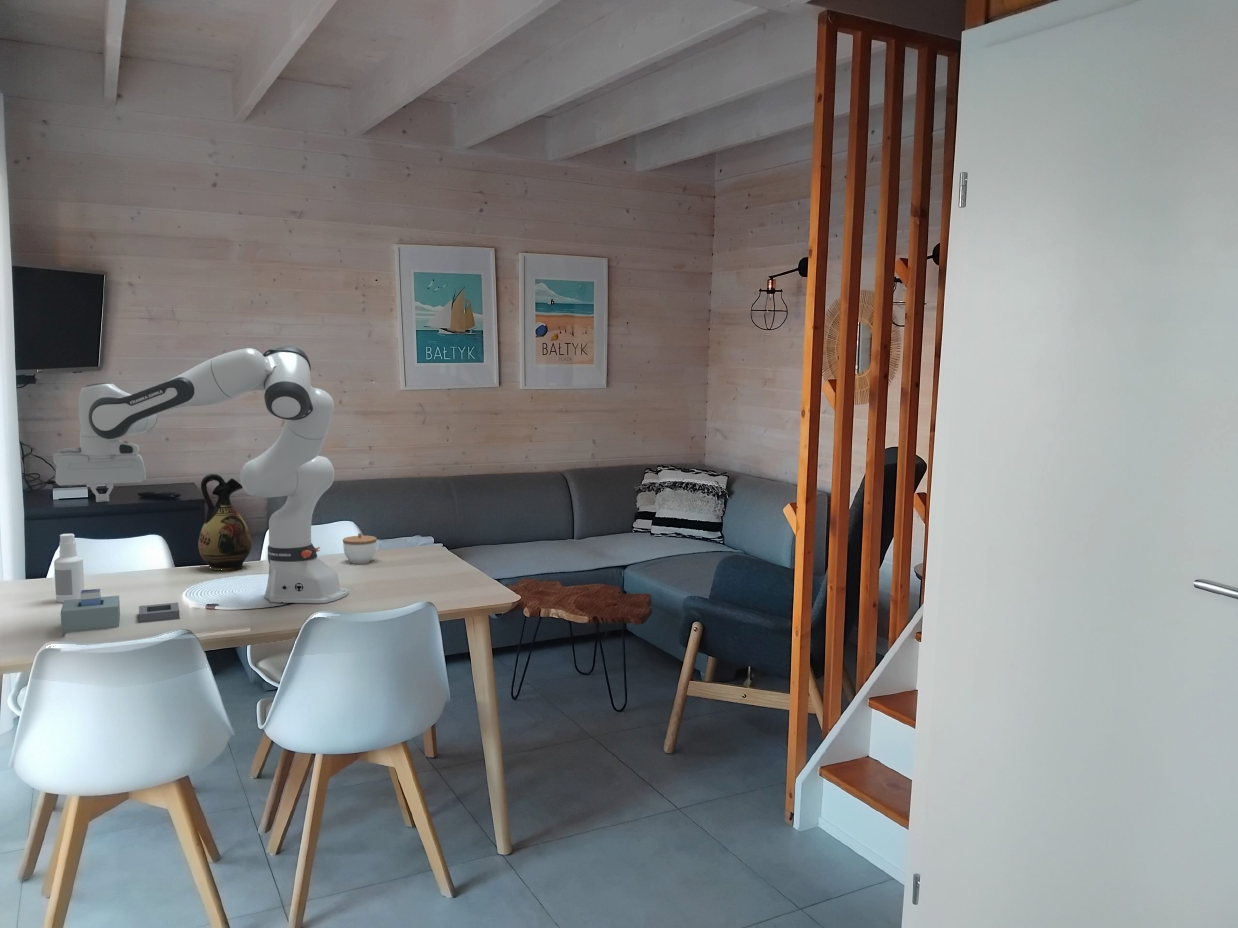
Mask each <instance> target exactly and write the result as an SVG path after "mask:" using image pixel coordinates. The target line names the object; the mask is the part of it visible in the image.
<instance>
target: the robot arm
mask: <svg viewBox="0 0 1238 928" xmlns="http://www.w3.org/2000/svg"><path fill="white" fill-rule="evenodd" d="M311 366H312V365H311V362H310V360H309V357H308V355H307V353H306V352H305V351H304V350H302V349H300V348H298V347H294V346H281V347H277V348H270V349H267V350H266V351H265V352H264V353H261V352H260V351H259V350H257V349H255V348H251V347H246V348H241V349H236V350H232V351H229V352H226V353H223V354H219V355H217V356H214V357H212V358H210V359H207V360H205V361H203V362H201V363H199V364H197V365H195V366H193V367H192V368H190V369H188V370H186V371H184V372H183V373H180V374H179V375H176V376H174V377H172V378H170V379H168V380H166V381H165V382H162V383H159V384H157V385H155V386H150V387H149V388H146V389H144V390H141V391H138V392H135V393H133V394H131V393H129V392H126V391H124V390H122V389H120V388H119V387H118V386H117V385H115V384H114V383H112V382H100V383H92V384H88V385H85V386H83V387H82V388H81V389H80V392H79V396H78V420H79V423H80V431H79V432H80V433H79V447H71V448H68V447H67V448H65V447H62V448H59V449H57V450H56V451H54V452H53V455H52V459H53V460H52V461H53V464H54V466H56V468H55V481H54V482H55V483H56V485H58V486H78V485H90V486H89V487H90V490H91V492H92V493H93V494H94V495H95V502H96V503H100V502H110V494H111V492H112V490H113V489H114V484H129V483H130V484H131V483H132V484H133V483H135V484H136V483H143V482H145V481H146V479H147V477H146V476H147V475H146V467H145V462H144V459H143V457H142V456H141V454H139V452H140V446H139V444H136V443H133V442H129V441H126V440H121V439H120V437H121V438H122V437H127V436H134V435H135V436H136V435H141V434H145V433H148V432H149V431H151V430H152V429H154V427H155V425H156V424H157V421H158V414H160V413H162V412H165V411H168V410H173V409H177V408H185V407H204V406H205V407H206V406H211V405H217V404H222V403H225V402H227V401H231V400H234V399H235V398H238V397H240V396H243V395H244V394H246V393H247V394H248V393H250V392H253V391H264V393H263V394H264V396H263V397H264V398H263V399H264V403H265V407H266V409H267V411H268V412H269V413H270V414H271V415H272V416H274V417H276V418H279V419H281V420H285V422H284V425H283V428H282V429H281V432H280V434H279V437H278V438H277V439H276V441H275V442H273V444H272V445H271V446H270V447H269V448H268V449H267V450H265V451H264V452H262V453H261V454H259V455H258V456H256V457H255V458H253V459H250V460H249V461H247V462H246V463H244V465H243V466H242V468H241V470H240V475H239V479H240V484H241V485H242V487H243V488H242V489H243V490H244V492H245V493H246V494H247V495H248V496H250V497H258V498H266V499H267V498H276V497H277V498H278V497H286V496H287V498H286V501H285V503H284V504H283V505H282V506H281V507H280V508H279V509H277V510H276V511H274V512H273V513H272V514H271V516H270V517H269V520H268V544H269V545H268V546H267V559H268V565H269V566H268V578H267V584H266V589H265V592H264V598H266V599H267V598H268V601H269V603H281V602H283V603H285V604H286V603H290V604H291V603H292V604H325V603H331V602H335V601H337V600H340V599H342V598H344V597H346V596H347V595H348V594H349V589H348V588H343V587H341V586H340V585H341V584H340V580H339V575H338V572H336V570H334V569H333V568H332V567H330V566H329V565H327V564H326V563H325V562H324V561H322V560H321V559H320V558H319V557H318V554H317V553H318V552H320V551H321V546H318V547H315V546H314V544H313V543H312V520H313V513H314V510H315V508H316V505H317V503H318V501H319V500H320V498H321V496H322V495H324V493H325V492H327V491H328V490H329V489H330V487H331V486H332V485H333V483H334V480H335V473H336V472H335V468H334V466H333V463H332V462H331V460H329V458H327V457H326V456H322V455H319V454H321V451H322V450H323V449H322V448H323V446H324V444H325V442H326V438H327V437H328V433H329V431H330V428H331V426H332V422H333V418H334V411H335V401H334V398H333V397H332V396H331V395H330V394H329V393H328V392H327V391H325V390H323V389H321V388H318V387H313V386H312V380H311V379H312V378H311V376H312V375H311V369H312V368H311ZM103 484H105V485H106V488H107V489H108V490H107V491H106V493H99V492H98V490H97V489H98V485H103Z"/></svg>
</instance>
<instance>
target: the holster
mask: <svg viewBox="0 0 1238 928" xmlns="http://www.w3.org/2000/svg"><path fill="white" fill-rule="evenodd" d="M138 619H139V620H138V621H139V623H140V624H141V623H149V622H150V623H151V622H157V621H158V622H161V621H167V620H168V621H170V620H179V619H181V618H180V606H179V602H169V603H168V602H167V603H161V604H159V603H158V604H146V605H139V606H138Z"/></svg>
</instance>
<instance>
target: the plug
mask: <svg viewBox="0 0 1238 928" xmlns="http://www.w3.org/2000/svg"><path fill="white" fill-rule="evenodd" d="M101 595H102V592H101V588H96V589H94V588H93V589H84V590H81V593H80V596H81V607H82V606H93V605H101V597H102V596H101Z"/></svg>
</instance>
